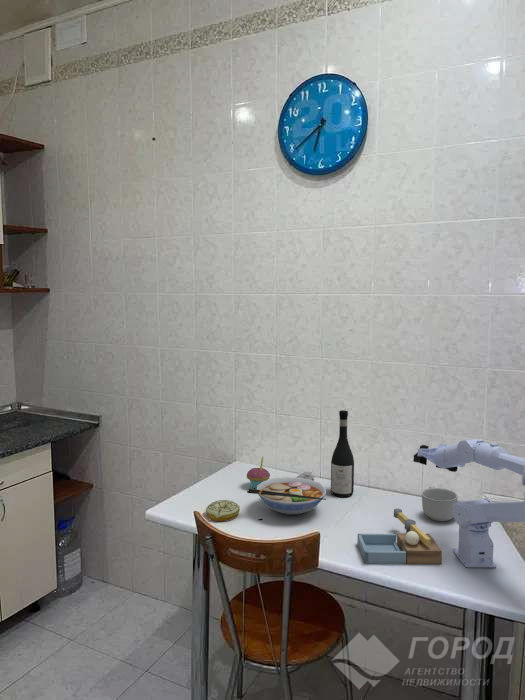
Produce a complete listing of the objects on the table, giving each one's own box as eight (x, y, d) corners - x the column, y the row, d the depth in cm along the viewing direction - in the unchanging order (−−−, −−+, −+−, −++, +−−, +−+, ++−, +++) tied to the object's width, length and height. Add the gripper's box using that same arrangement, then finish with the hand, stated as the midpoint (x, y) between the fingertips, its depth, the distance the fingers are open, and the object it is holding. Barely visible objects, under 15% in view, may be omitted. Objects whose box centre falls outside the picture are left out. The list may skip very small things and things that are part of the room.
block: (441, 563, 132) (441, 549, 131) (406, 563, 132) (407, 548, 131) (426, 541, 144) (426, 527, 144) (394, 541, 144) (394, 527, 144)
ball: (420, 547, 133) (421, 534, 133) (407, 547, 133) (407, 534, 133) (416, 541, 137) (417, 528, 136) (403, 541, 137) (404, 528, 136)
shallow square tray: (405, 563, 132) (406, 552, 131) (365, 563, 132) (365, 552, 131) (395, 544, 142) (395, 533, 142) (357, 543, 142) (357, 533, 142)
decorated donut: (199, 514, 162) (199, 503, 162) (227, 506, 169) (227, 495, 168) (217, 526, 154) (217, 514, 153) (245, 516, 160) (245, 505, 160)
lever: (433, 545, 133) (433, 538, 132) (423, 546, 132) (423, 539, 132) (400, 514, 152) (400, 508, 152) (391, 515, 151) (391, 508, 151)
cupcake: (274, 485, 187) (274, 454, 186) (261, 493, 180) (261, 460, 179) (254, 481, 192) (254, 450, 191) (241, 488, 185) (242, 456, 184)
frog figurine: (311, 494, 179) (311, 475, 178) (292, 491, 182) (292, 472, 181) (316, 489, 184) (317, 470, 184) (298, 486, 187) (299, 467, 187)
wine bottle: (351, 499, 175) (353, 414, 172) (328, 496, 177) (330, 412, 175) (354, 491, 182) (356, 409, 180) (332, 488, 185) (334, 407, 182)
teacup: (459, 526, 154) (460, 501, 153) (422, 523, 156) (423, 498, 155) (452, 508, 168) (453, 485, 167) (418, 505, 170) (418, 482, 169)
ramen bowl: (333, 501, 173) (334, 478, 172) (323, 530, 151) (324, 504, 150) (263, 494, 179) (263, 471, 179) (243, 520, 157) (243, 495, 157)
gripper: (475, 447, 145) (447, 453, 157) (430, 435, 142) (405, 443, 155) (474, 471, 142) (446, 476, 154) (429, 460, 140) (403, 466, 152)
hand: (425, 461), depth 154 cm, fingers open, 7 cm apart
